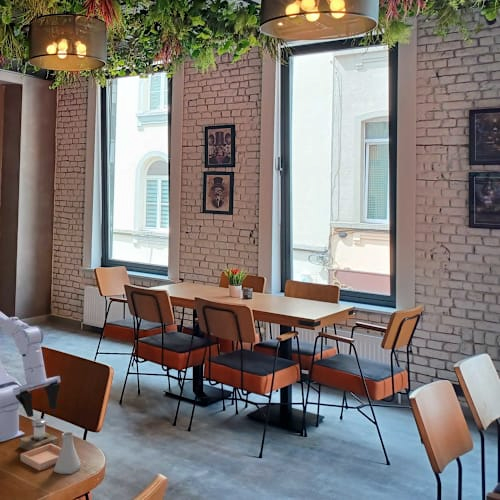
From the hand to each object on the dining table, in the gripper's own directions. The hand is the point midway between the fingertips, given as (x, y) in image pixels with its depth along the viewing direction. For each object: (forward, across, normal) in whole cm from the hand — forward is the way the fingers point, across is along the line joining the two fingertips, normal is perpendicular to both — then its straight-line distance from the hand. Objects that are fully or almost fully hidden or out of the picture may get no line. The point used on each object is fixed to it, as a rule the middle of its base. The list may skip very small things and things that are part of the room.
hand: (42, 412), depth 169 cm
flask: (+15, -3, -14) cm, 21 cm away
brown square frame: (+10, 0, +4) cm, 11 cm away
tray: (+12, -4, -5) cm, 14 cm away
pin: (+10, 0, +4) cm, 11 cm away
